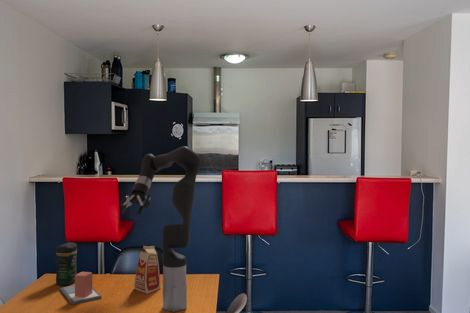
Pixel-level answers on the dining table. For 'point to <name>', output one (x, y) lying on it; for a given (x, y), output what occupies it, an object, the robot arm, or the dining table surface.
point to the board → (70, 295)
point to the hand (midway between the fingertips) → (130, 213)
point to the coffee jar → (66, 263)
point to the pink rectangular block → (83, 284)
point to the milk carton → (147, 271)
